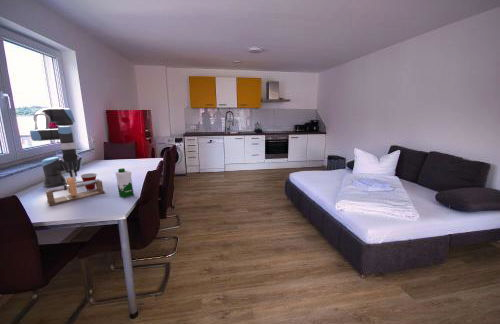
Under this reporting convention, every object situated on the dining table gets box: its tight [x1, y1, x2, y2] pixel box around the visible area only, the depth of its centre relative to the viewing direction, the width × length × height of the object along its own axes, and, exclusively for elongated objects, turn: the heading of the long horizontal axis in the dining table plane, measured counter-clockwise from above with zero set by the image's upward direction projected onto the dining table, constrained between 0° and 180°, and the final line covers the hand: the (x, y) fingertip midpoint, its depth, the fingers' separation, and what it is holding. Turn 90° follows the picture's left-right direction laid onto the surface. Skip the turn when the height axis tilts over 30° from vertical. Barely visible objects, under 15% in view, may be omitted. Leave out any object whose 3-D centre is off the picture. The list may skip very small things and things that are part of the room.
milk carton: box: [114, 168, 135, 199], centre depth 166 cm, size 9×9×20 cm
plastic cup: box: [80, 172, 98, 191], centre depth 183 cm, size 11×11×12 cm
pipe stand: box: [45, 179, 106, 207], centre depth 165 cm, size 12×32×9 cm, turn 138°
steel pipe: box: [48, 178, 100, 193], centre depth 164 cm, size 4×29×4 cm, turn 138°
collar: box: [65, 177, 78, 196], centre depth 162 cm, size 11×3×11 cm, turn 48°
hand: (74, 181), depth 163 cm, fingers closed
